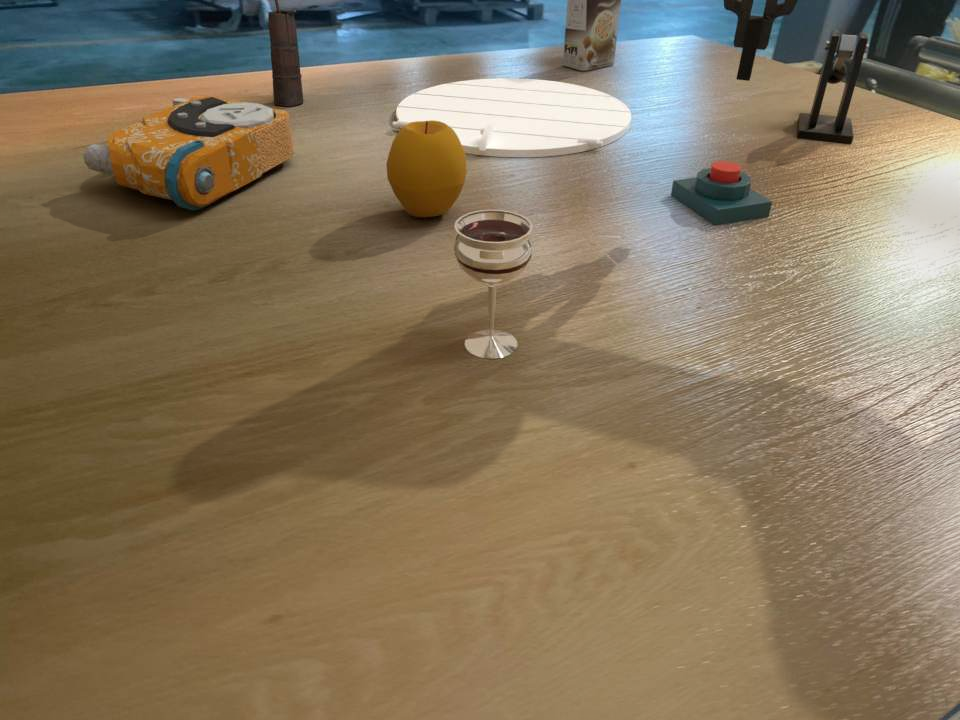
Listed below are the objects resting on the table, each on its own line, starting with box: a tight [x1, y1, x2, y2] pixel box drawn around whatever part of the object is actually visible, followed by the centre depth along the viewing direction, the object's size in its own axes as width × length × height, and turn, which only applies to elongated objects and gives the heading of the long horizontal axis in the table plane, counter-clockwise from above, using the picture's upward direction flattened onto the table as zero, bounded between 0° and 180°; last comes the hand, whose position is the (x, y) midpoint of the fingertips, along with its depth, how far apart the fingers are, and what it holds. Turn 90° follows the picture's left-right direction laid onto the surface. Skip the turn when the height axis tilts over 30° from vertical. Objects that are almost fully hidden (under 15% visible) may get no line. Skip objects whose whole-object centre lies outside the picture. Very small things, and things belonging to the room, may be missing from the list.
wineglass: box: [453, 209, 533, 360], centre depth 68 cm, size 7×7×12 cm
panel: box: [670, 167, 773, 227], centre depth 97 cm, size 10×8×4 cm
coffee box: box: [562, 0, 622, 72], centre depth 152 cm, size 9×6×16 cm
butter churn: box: [267, 0, 305, 107], centre depth 126 cm, size 9×10×28 cm
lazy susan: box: [392, 77, 632, 158], centre depth 127 cm, size 40×39×3 cm
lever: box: [827, 34, 858, 85], centre depth 121 cm, size 13×4×4 cm
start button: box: [709, 160, 742, 184], centre depth 95 cm, size 4×4×2 cm
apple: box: [386, 120, 468, 218], centre depth 92 cm, size 10×10×12 cm
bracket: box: [796, 29, 870, 145], centre depth 119 cm, size 10×8×15 cm
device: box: [83, 94, 295, 211], centre depth 105 cm, size 23×8×30 cm
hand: (743, 77), depth 90 cm, fingers closed
